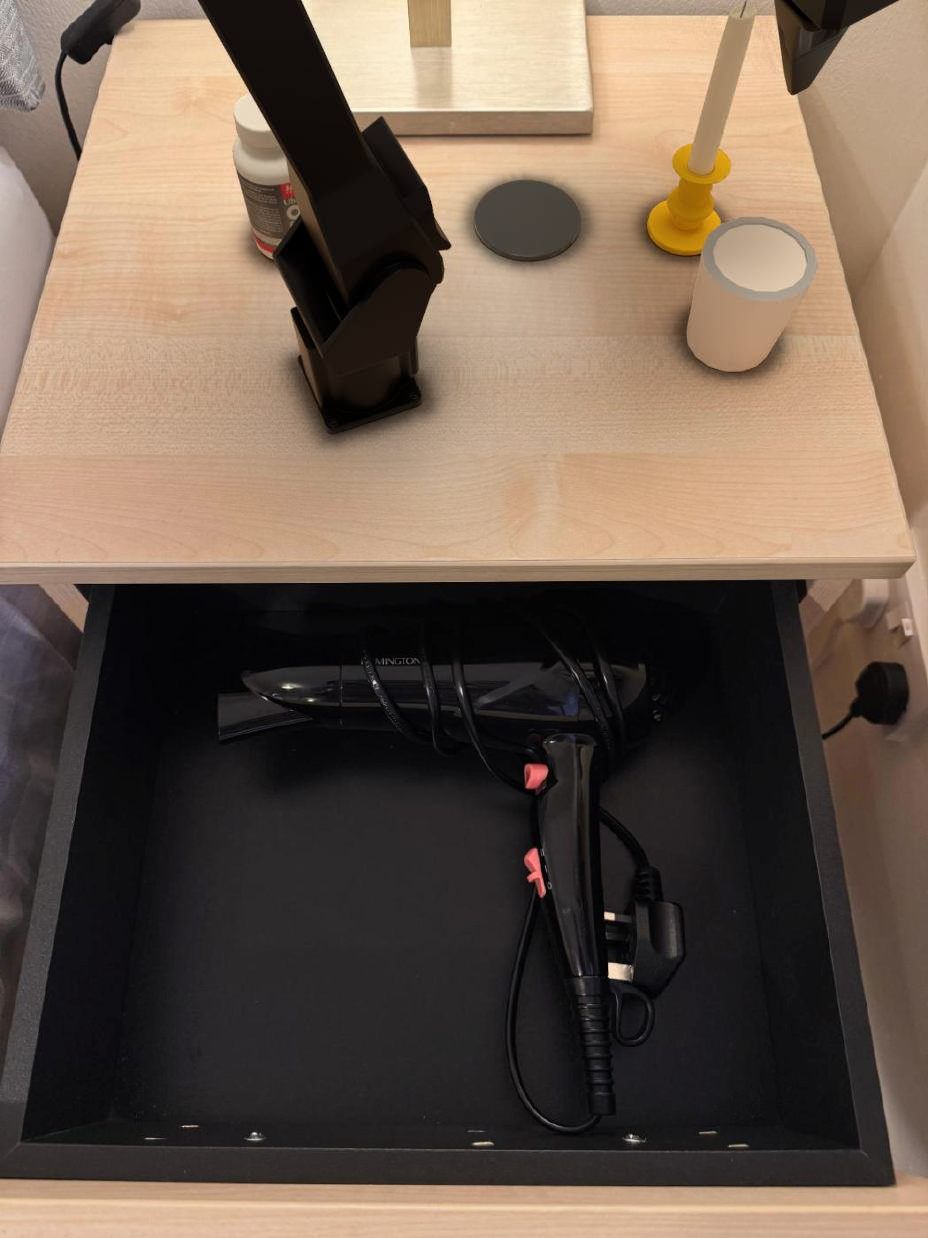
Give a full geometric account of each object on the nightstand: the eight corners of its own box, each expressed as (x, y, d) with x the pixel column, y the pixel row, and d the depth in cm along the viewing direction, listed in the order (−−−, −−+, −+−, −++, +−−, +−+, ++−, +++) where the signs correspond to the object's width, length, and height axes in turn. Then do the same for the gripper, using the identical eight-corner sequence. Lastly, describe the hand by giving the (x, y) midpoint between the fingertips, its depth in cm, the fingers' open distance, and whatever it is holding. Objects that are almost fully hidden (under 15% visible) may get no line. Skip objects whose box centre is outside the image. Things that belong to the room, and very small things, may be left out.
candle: (637, 243, 62) (688, 16, 48) (659, 195, 64) (713, -38, 50) (708, 264, 61) (781, 39, 47) (728, 214, 63) (804, -17, 49)
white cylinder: (777, 387, 57) (816, 308, 51) (671, 370, 58) (697, 290, 51) (783, 307, 60) (820, 223, 53) (682, 292, 60) (707, 207, 54)
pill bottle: (311, 273, 61) (285, 147, 52) (242, 253, 62) (204, 125, 53) (343, 221, 63) (323, 90, 54) (275, 202, 64) (245, 70, 55)
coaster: (499, 273, 61) (499, 268, 61) (458, 201, 64) (458, 196, 64) (597, 242, 62) (598, 237, 62) (552, 172, 65) (553, 168, 65)
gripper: (1180, -353, 29) (996, 73, 44) (852, -545, 36) (787, -122, 50) (880, -197, 29) (796, 176, 44) (609, -418, 36) (615, -33, 51)
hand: (750, 37), depth 47 cm, fingers open, 9 cm apart
